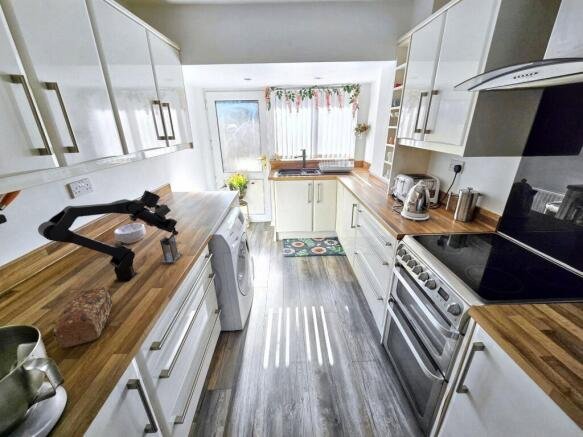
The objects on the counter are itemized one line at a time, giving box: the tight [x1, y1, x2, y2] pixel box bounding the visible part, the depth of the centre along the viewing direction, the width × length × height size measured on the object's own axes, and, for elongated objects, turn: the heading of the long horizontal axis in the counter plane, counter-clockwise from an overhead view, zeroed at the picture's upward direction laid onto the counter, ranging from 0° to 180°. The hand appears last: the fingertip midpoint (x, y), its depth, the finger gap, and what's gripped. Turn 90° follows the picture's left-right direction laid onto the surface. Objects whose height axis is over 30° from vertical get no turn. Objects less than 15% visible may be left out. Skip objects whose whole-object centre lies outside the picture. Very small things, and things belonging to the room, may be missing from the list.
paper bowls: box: [113, 222, 147, 244], centre depth 141 cm, size 15×15×8 cm
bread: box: [52, 286, 114, 348], centre depth 80 cm, size 19×11×10 cm, turn 22°
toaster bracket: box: [159, 236, 183, 265], centre depth 118 cm, size 9×6×12 cm, turn 179°
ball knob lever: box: [164, 229, 179, 245], centre depth 120 cm, size 11×3×3 cm, turn 179°
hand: (174, 229), depth 123 cm, fingers closed
